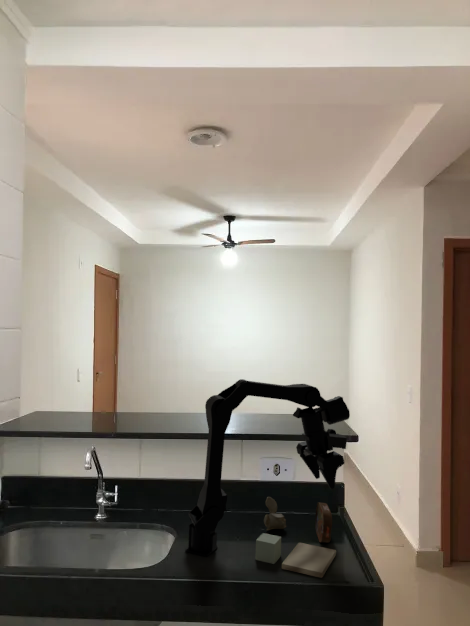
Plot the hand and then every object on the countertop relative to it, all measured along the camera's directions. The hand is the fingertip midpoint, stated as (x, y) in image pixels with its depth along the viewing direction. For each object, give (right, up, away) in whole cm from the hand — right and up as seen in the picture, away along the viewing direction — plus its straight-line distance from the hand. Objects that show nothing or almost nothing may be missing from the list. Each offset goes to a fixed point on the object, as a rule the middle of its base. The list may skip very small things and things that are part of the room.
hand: (324, 483), depth 149 cm
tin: (0, -16, +2) cm, 16 cm away
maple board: (-6, -15, -14) cm, 22 cm away
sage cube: (-17, -15, -13) cm, 26 cm away
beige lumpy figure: (-13, -15, +6) cm, 21 cm away
